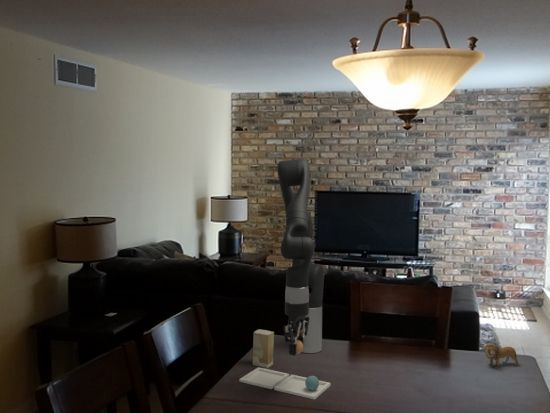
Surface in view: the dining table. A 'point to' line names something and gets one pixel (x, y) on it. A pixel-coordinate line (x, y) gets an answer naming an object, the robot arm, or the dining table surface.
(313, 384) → the ball teal
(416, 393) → the dining table surface
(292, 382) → the tray
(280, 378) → the tray
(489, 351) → the lion figurine
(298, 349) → the ball terracotta
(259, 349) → the skincare box
